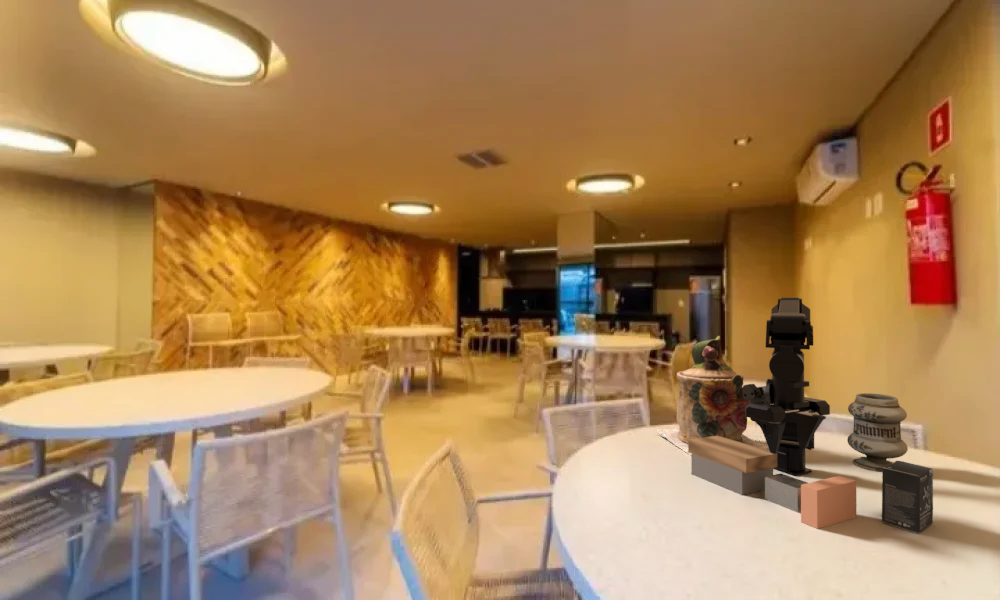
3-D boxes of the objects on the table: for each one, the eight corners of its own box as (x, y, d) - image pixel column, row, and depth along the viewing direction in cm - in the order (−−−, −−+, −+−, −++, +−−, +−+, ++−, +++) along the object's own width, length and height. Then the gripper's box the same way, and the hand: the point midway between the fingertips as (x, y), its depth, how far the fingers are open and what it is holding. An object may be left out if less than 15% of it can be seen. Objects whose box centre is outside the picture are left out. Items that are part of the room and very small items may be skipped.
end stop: (840, 510, 95) (839, 475, 95) (856, 516, 92) (856, 480, 92) (801, 521, 90) (800, 484, 90) (817, 528, 87) (817, 490, 87)
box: (919, 534, 85) (919, 475, 85) (881, 522, 90) (880, 466, 90) (934, 524, 89) (933, 467, 89) (896, 512, 94) (896, 459, 94)
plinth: (721, 468, 119) (721, 448, 119) (773, 487, 107) (773, 465, 107) (691, 474, 115) (691, 453, 115) (742, 495, 102) (742, 471, 103)
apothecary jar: (855, 470, 118) (855, 398, 118) (841, 456, 129) (841, 390, 129) (916, 477, 114) (916, 402, 114) (896, 462, 125) (896, 393, 125)
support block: (780, 496, 102) (780, 473, 102) (813, 508, 96) (813, 484, 96) (765, 500, 100) (764, 476, 100) (797, 513, 94) (797, 488, 94)
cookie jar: (653, 433, 152) (653, 333, 152) (726, 432, 154) (726, 333, 155) (693, 458, 127) (693, 339, 128) (778, 456, 130) (778, 339, 130)
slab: (717, 447, 120) (717, 435, 120) (777, 466, 106) (777, 453, 106) (688, 452, 116) (688, 439, 116) (746, 473, 102) (746, 459, 102)
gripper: (780, 368, 110) (780, 436, 110) (723, 372, 102) (723, 445, 102) (831, 374, 100) (831, 449, 99) (771, 380, 92) (771, 461, 92)
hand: (788, 450), depth 98 cm, fingers open, 9 cm apart
